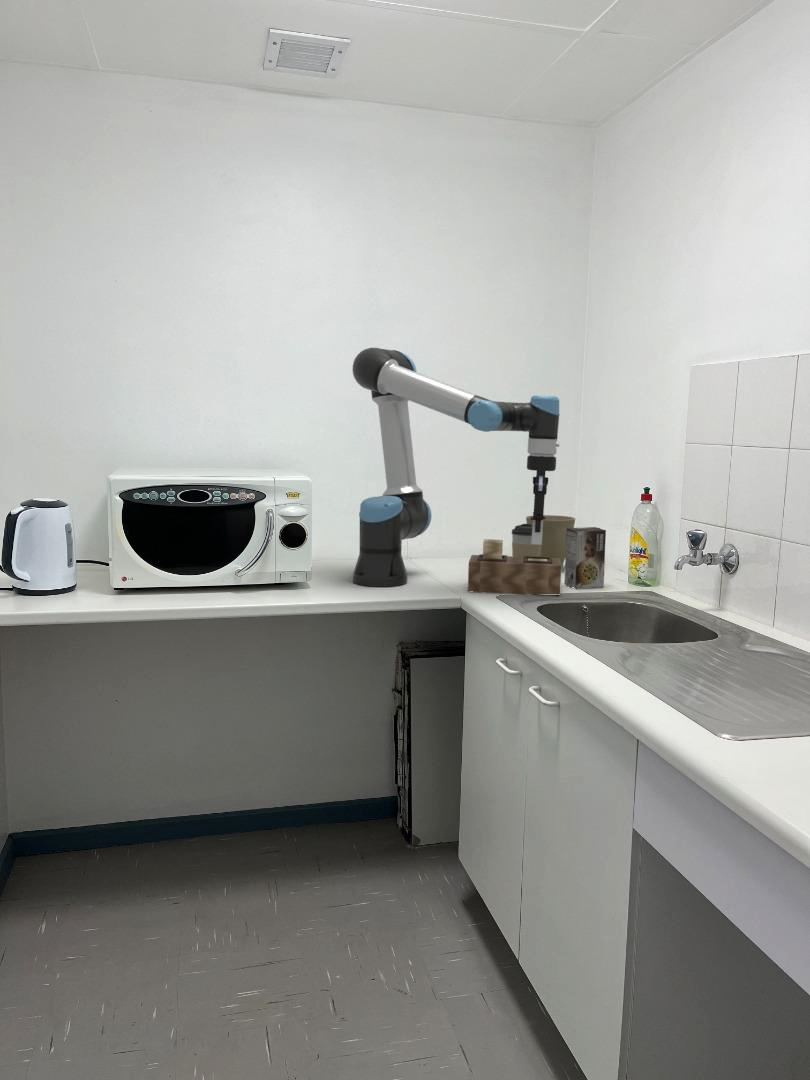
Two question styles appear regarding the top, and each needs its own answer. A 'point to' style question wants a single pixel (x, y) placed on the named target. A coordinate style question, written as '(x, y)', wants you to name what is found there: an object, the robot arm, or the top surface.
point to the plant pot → (554, 535)
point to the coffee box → (585, 557)
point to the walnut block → (514, 575)
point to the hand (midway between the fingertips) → (536, 543)
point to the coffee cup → (524, 542)
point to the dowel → (492, 549)
